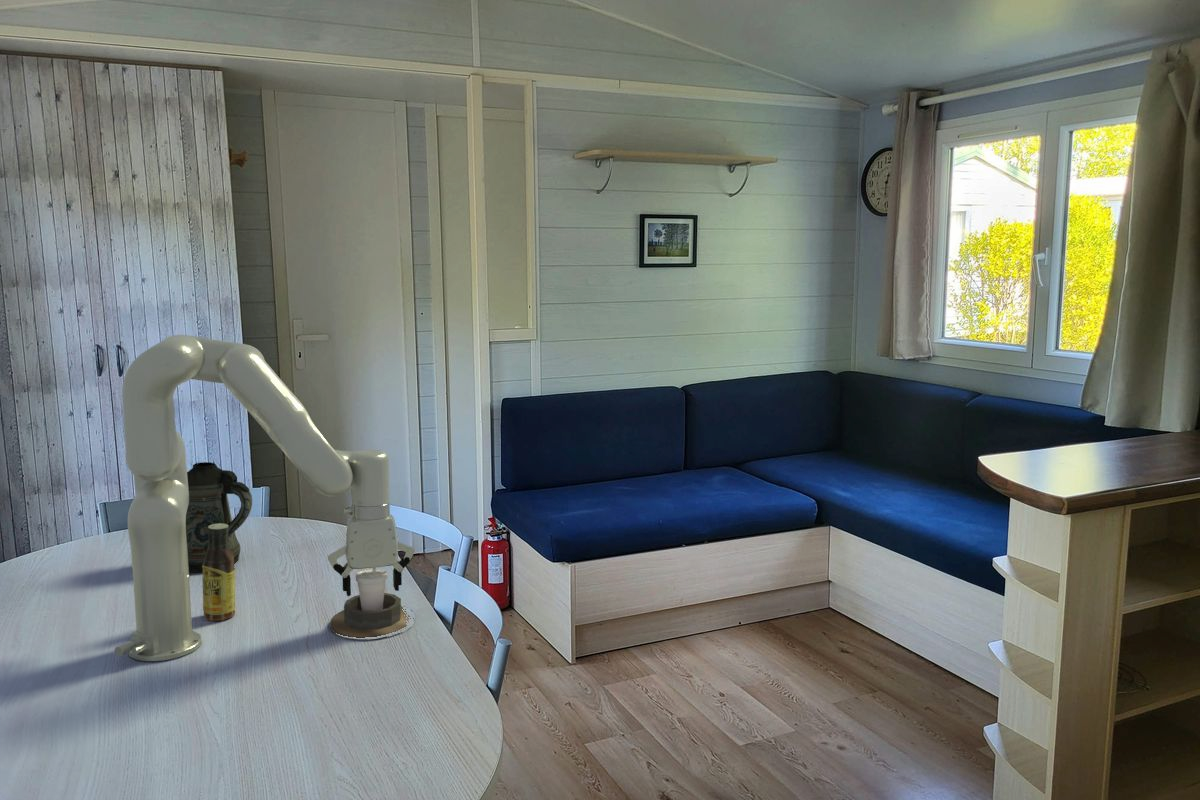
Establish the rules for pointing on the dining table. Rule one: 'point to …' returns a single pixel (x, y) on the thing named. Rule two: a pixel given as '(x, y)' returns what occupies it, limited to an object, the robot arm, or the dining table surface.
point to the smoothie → (371, 588)
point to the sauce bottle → (218, 575)
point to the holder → (369, 618)
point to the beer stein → (212, 509)
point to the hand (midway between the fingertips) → (372, 591)
